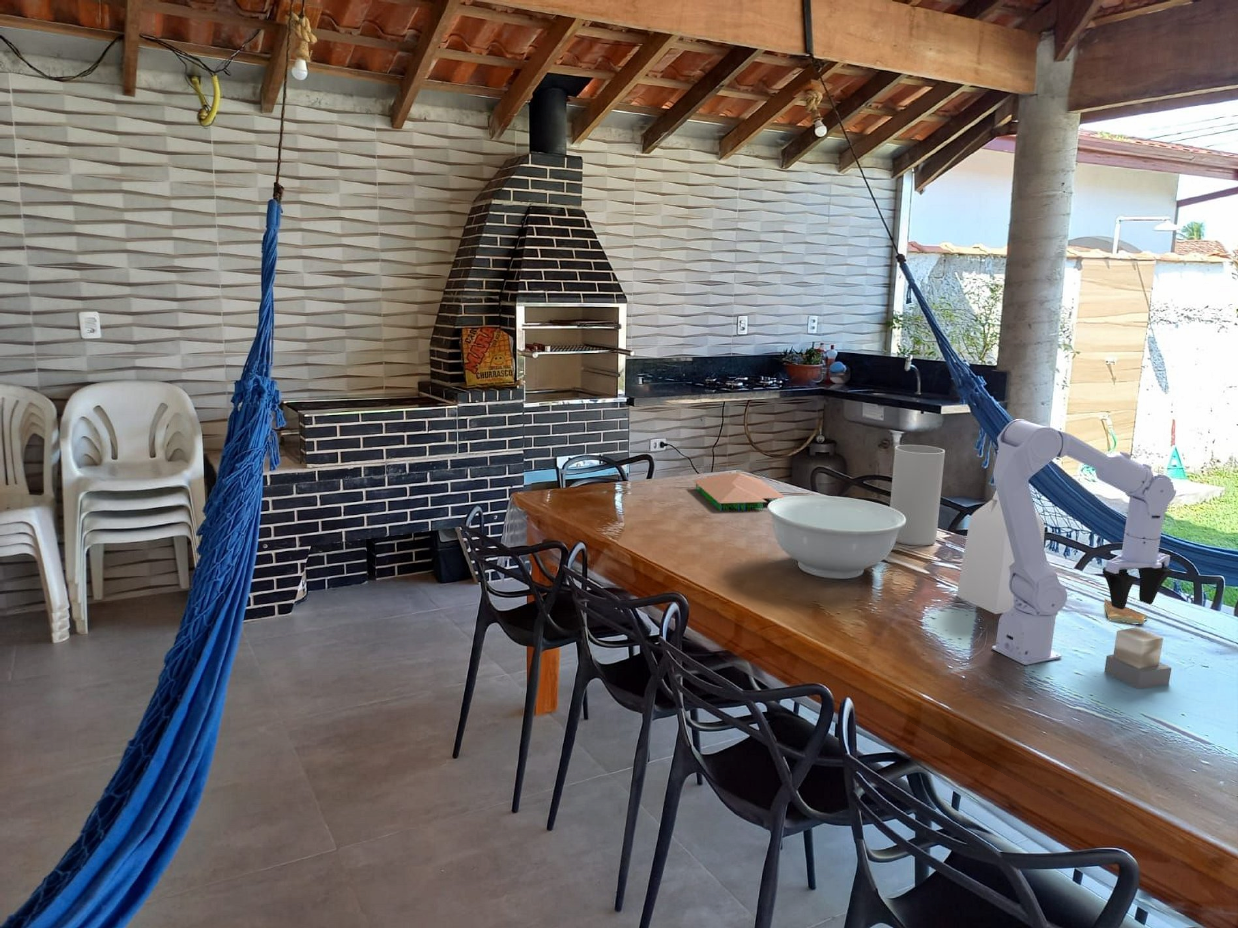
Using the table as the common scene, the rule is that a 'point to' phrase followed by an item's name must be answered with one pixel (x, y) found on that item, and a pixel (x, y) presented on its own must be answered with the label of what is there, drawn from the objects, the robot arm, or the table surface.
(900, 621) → the table surface
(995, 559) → the milk
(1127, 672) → the gray base block
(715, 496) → the house
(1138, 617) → the shard
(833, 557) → the bowl
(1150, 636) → the cream cube
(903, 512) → the cylinder vase
